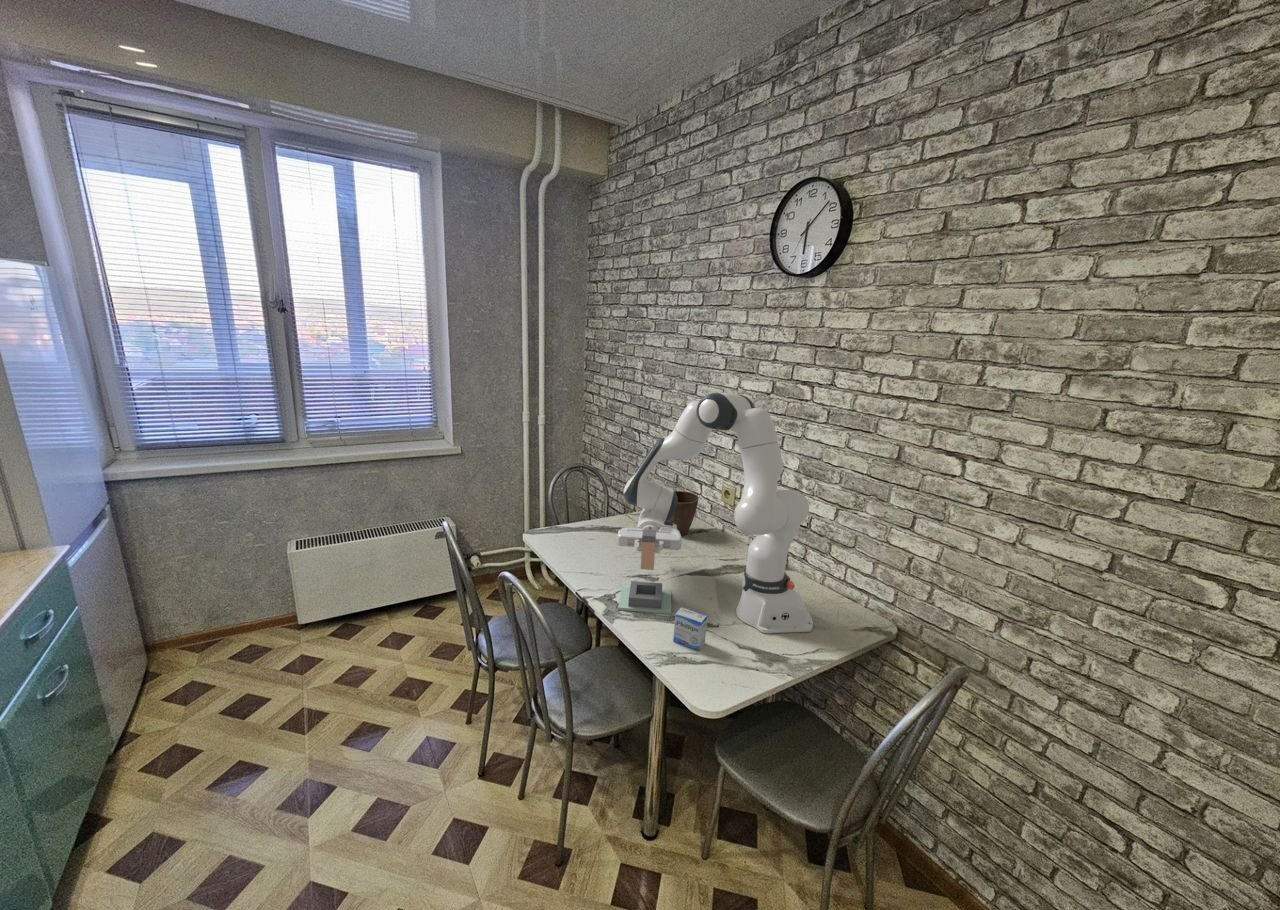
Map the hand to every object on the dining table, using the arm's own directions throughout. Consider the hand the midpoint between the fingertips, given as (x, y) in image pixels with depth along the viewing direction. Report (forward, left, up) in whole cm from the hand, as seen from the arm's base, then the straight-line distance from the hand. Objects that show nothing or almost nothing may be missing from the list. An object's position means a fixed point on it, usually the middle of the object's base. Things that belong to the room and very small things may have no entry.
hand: (648, 549), depth 148 cm
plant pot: (-11, -56, -18) cm, 60 cm away
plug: (0, -1, -6) cm, 6 cm away
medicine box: (-13, +18, -18) cm, 29 cm away
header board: (0, -1, -18) cm, 18 cm away
